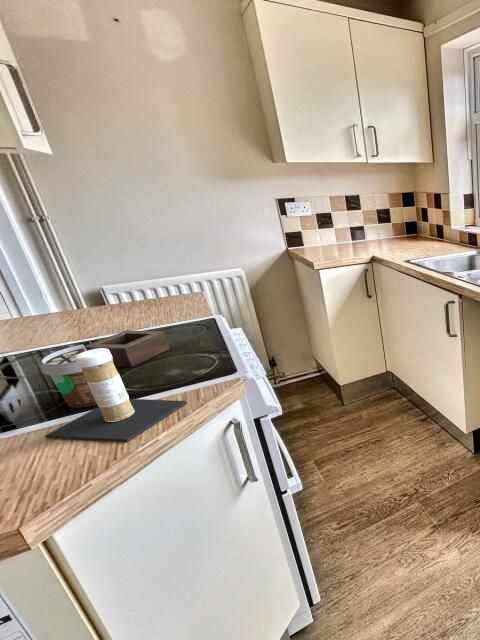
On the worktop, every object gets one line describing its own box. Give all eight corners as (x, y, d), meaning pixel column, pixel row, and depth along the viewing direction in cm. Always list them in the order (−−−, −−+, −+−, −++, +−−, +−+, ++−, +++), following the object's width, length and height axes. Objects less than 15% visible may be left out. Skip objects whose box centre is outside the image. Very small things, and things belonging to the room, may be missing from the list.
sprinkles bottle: (120, 409, 82) (92, 347, 77) (141, 410, 82) (115, 347, 77) (97, 423, 78) (66, 357, 73) (120, 423, 78) (90, 358, 73)
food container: (63, 394, 90) (42, 351, 86) (102, 384, 93) (83, 343, 90) (56, 418, 81) (32, 371, 77) (98, 406, 85) (78, 362, 81)
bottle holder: (91, 365, 103) (82, 347, 101) (132, 347, 113) (125, 330, 111) (132, 367, 102) (124, 348, 100) (170, 348, 112) (163, 331, 110)
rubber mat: (46, 438, 75) (44, 435, 75) (115, 400, 87) (114, 398, 87) (127, 442, 74) (126, 439, 73) (187, 403, 85) (186, 400, 85)
